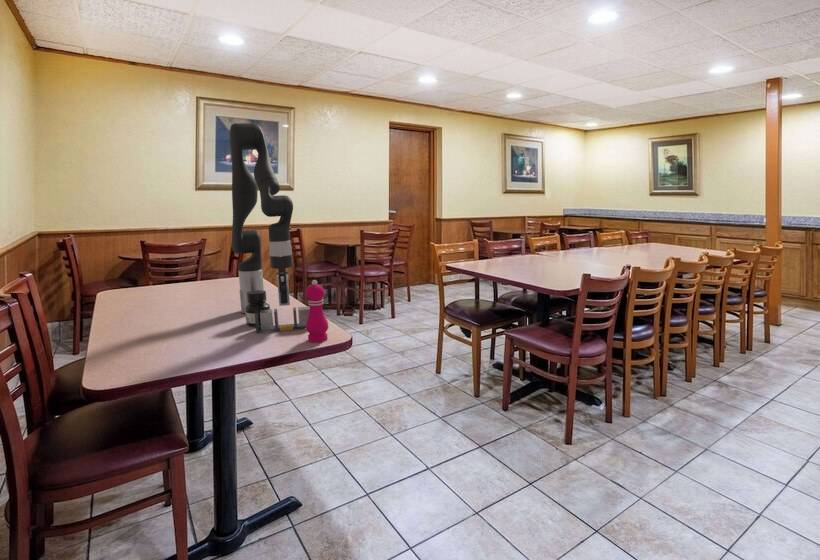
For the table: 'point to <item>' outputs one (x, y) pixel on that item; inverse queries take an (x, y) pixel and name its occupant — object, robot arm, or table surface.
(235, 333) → the table surface
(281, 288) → the light grey block
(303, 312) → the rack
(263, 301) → the ink bottle
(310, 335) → the pepper mill
